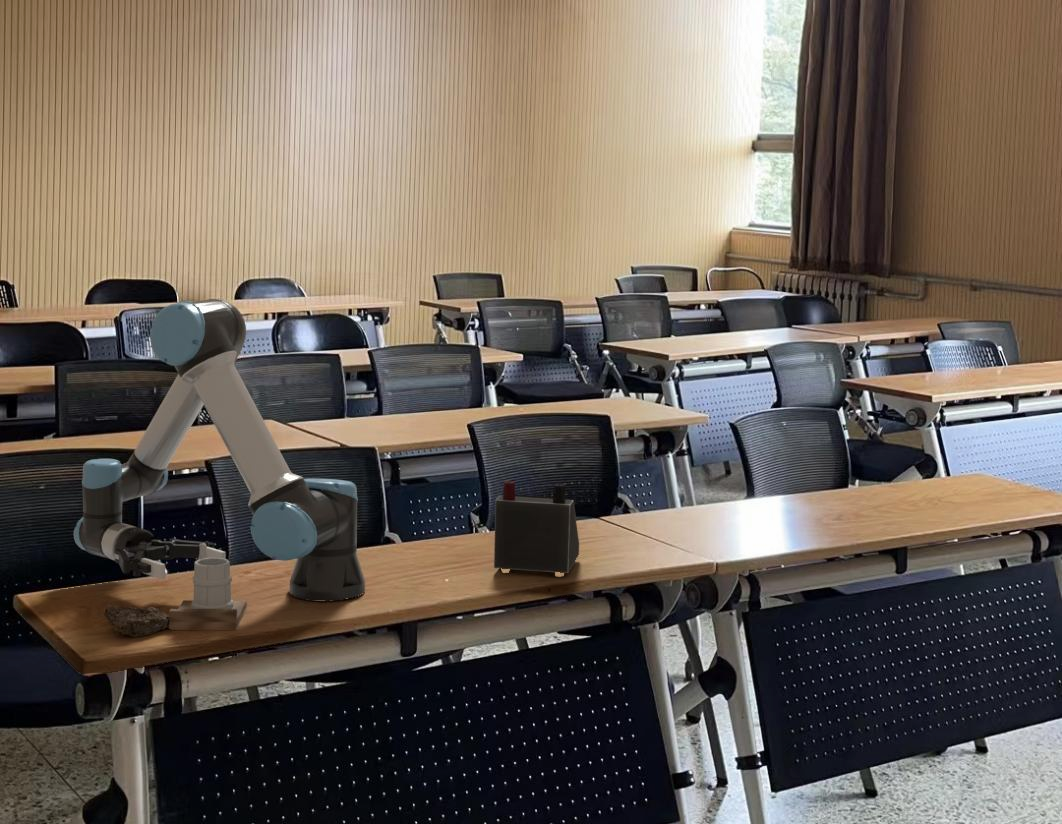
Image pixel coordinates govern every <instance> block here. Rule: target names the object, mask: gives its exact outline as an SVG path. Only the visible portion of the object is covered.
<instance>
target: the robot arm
mask: <svg viewBox="0 0 1062 824" xmlns="http://www.w3.org/2000/svg"><path fill="white" fill-rule="evenodd" d="M149 331H150V332H149V335H150V337H149V338H150V345H151V348H152V351H153V353H154V354H155V356H156V357H157V358H158V359H159V360H160V361H161V362H163V363H166V364H167V365H169V366H173V367H174V368H175V370H176V371H177V376H176V377H175V379H174V381H173V383H172V385H171V386H170V387H169V390H168V391H167V393H166V394H165V396H164V399H163V400H162V402H161V404H160V405H159V407H158V408H157V411H156V412H155V414H154V416H153V417H152V419H151V421H150V423H149V425H148V426H147V428H146V430H145V432H144V433H143V435H142V436H141V439H140V441H139V442H138V444H137V445H136V448H135V449H134V451H133V453H132V454H131V456H130V457H129V459H128V461H127V462H125V463H121V461H120V460H118V459H114V458H97V459H94V458H93V459H90V460H87V461H86V462H84V463H83V466H82V479H81V486H82V488H81V489H82V512H83V513H82V514H83V515H82V517H81V518H80V519H79V520H78V521H77V523H76V525H75V528H74V529H73V539H74V542H75V544H76V546H78V547H79V548H80V549H81V550H82V551H83V550H84V551H86V552H87V553H89V554H91V555H94V556H99V557H102V558H106V559H109V560H112V561H114V563H116V564H118V565H119V567H120V569H121V571H122V573H123V574H124V575H127V574H130V573H131V571H133V577H140V576H141V573H142V574H144V575H147V576H150V577H154V578H157V579H160V580H165V579H166V563H162V562H159V561H161V560H162V561H163V560H165V561H171V560H173V559H174V558H179V559H180V558H182V559H198V558H199V551H200V547H199V544H203V543H205V544H206V546H207V557H208V558H224V559H227V558H226V555H227V553H226V551H223V550H220V549H216V548H215V543H214V542H209V541H208V540H207V541H194V540H184V539H183V540H181V539H177V538H174V537H173V538H169V541H164V540H163V541H162V540H161V539H156V537H155V536H154V535H153V533H152V532H150V531H149V530H148V529H147V530H146V529H143V528H141V527H137V526H133V525H131V524H127V523H123V521H122V520H123V503H124V502H128V501H129V500H133V499H137V498H140V497H143V496H148V495H151V494H154V493H156V492H157V491H161V490H162V489H163V488H164V486H166V484H167V483H168V480H169V478H168V477H169V469H168V465H169V464H171V463H170V462H172V459H173V458H174V456H175V454H176V452H177V450H178V449H179V447H180V445H181V444H182V442H183V441H184V439H185V438H186V435H187V434H188V433H189V430H190V429H191V427H192V425H193V423H194V422H195V420H196V419H197V417H198V416H199V414H200V412H201V411H202V408H203V407H204V408H205V409H206V411H207V413H208V415H209V417H210V419H211V421H212V422H213V424H214V426H215V428H216V430H217V432H218V434H219V435H220V437H221V439H222V441H223V443H224V445H225V447H226V450H227V451H228V453H229V455H230V457H231V459H232V460H233V462H234V464H235V465H236V468H237V470H238V472H239V474H240V476H241V477H242V479H243V480H244V483H245V485H246V487H247V489H248V490H249V492H250V497H249V501H248V503H247V504H248V505H247V506H248V508H249V510H250V511H251V514H252V519H251V526H250V533H251V537H252V539H253V542H254V544H255V545H256V547H257V548H258V549H259V551H260V552H261V553H263V554H264V555H265V556H267V557H269V558H271V559H275V560H276V561H283V562H288V561H293V560H296V561H295V564H294V568H293V570H292V573H291V576H290V580H289V594H290V595H291V596H292V595H293V596H292V597H295V598H297V599H300V598H301V599H300V600H304V599H306V600H305V601H311V600H325V601H324V602H331V601H330V600H340V601H342V600H341V599H346V598H352V597H355V598H357V597H356V596H358V595H360V594H362V593H363V594H365V592H366V580H365V577H364V573H363V570H362V567H361V564H360V563H361V562H360V561H359V557H358V554H357V552H358V550H357V543H358V541H357V539H358V535H357V534H358V533H357V532H358V531H357V530H358V502H359V498H358V493H357V492H358V491H357V485H356V484H355V483H354V482H352V481H349V480H343V479H336V478H335V479H334V478H332V479H331V478H304V477H303V476H302V475H298V474H294V473H293V472H292V471H291V470H290V468H289V465H288V464H287V462H286V460H285V458H284V456H283V455H282V453H281V450H280V448H279V446H278V444H277V443H276V440H275V439H274V438H273V436H272V434H271V432H270V430H269V428H268V426H267V424H266V422H265V420H264V418H263V417H262V415H261V413H260V411H259V409H258V407H257V405H256V404H255V401H254V399H253V398H252V396H251V394H250V392H249V390H248V388H247V386H246V384H245V382H244V380H243V379H242V377H241V375H240V373H239V371H238V370H237V368H236V366H235V363H236V361H237V360H238V357H240V356H239V355H240V354H241V351H242V349H243V347H244V345H245V342H246V337H247V325H246V321H245V319H244V317H243V314H242V313H241V311H240V310H239V309H238V308H237V307H236V306H234V305H233V304H232V303H230V302H228V301H226V300H223V299H217V298H211V299H210V298H209V299H205V300H195V301H193V300H191V301H186V300H182V301H178V302H176V303H172V304H169V305H167V306H164V307H162V309H160V310H159V311H158V313H156V315H155V317H154V318H153V320H152V325H151V328H150V330H149ZM167 551H168V555H167ZM364 591H365V592H364ZM363 594H362V595H363ZM360 596H361V595H360ZM358 597H359V596H358ZM307 599H308V600H307ZM352 599H353V598H352Z"/></svg>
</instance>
